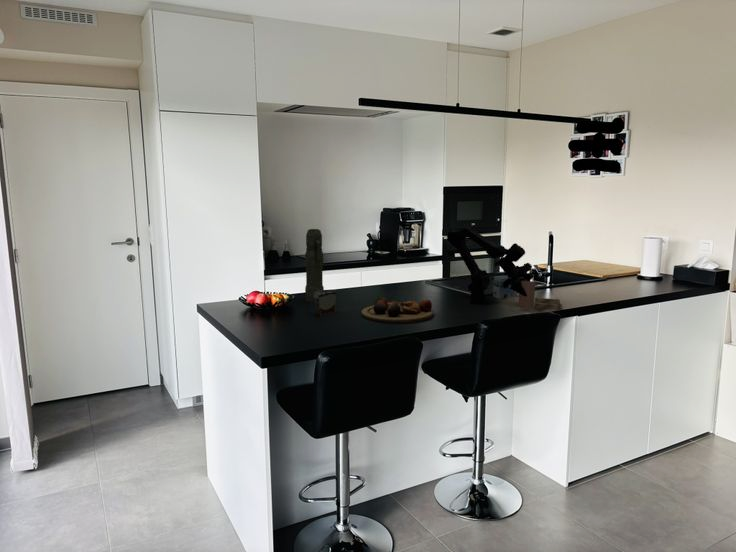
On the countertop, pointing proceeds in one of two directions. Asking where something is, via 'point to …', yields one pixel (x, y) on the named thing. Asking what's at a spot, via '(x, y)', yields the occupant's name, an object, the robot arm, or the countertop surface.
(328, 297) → the food container
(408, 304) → the wooden plate with food
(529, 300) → the block
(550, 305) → the sleeve
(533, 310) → the trivet
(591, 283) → the countertop surface
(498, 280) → the light bulb box
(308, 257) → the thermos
